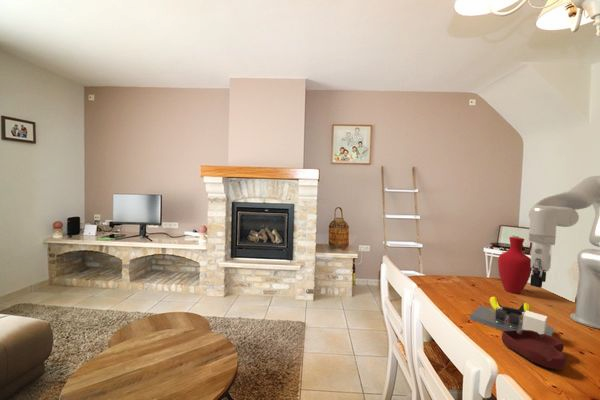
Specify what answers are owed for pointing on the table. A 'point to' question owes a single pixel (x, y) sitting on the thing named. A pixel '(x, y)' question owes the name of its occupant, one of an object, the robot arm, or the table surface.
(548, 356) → the ashtray
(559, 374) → the table surface
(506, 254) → the vase
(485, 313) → the panel
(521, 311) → the gaming controller
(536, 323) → the chalk-white cube
